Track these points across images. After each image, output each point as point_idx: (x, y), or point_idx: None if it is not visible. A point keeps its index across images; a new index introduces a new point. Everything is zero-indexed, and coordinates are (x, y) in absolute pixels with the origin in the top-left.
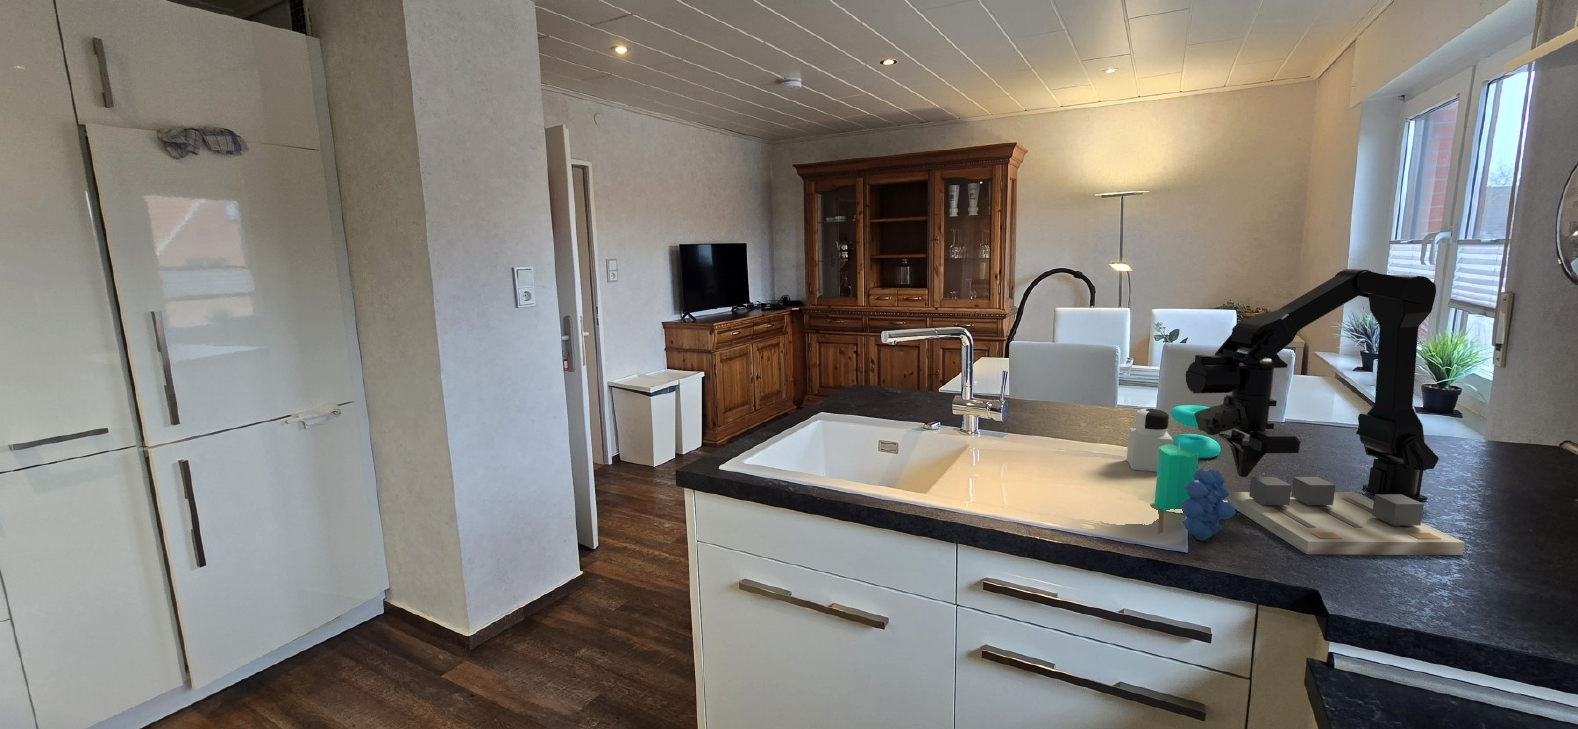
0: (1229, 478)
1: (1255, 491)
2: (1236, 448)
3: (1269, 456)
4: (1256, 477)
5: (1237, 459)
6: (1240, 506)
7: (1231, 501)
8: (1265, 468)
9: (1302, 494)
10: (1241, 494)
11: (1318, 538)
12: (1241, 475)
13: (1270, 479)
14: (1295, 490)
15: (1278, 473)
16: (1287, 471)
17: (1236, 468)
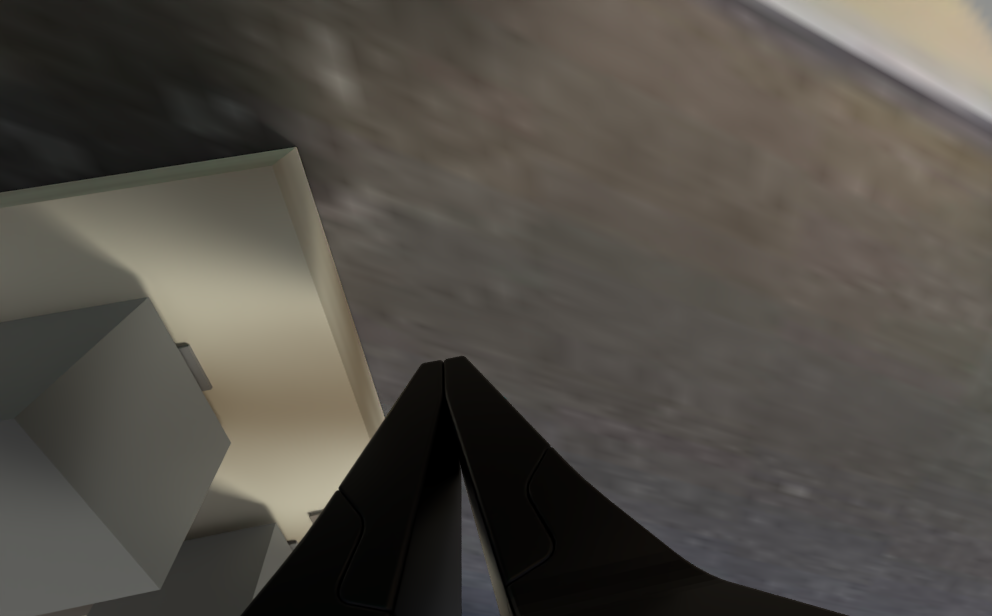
0: (766, 342)
1: (11, 351)
2: (510, 608)
3: (962, 553)
4: (24, 460)
5: (467, 459)
6: (79, 188)
7: (210, 167)
8: (851, 512)
9: (154, 591)
10: (246, 266)
11: None
12: (416, 372)
13: (32, 548)
14: (227, 578)
15: (786, 534)
16: (799, 562)
17: (483, 379)
